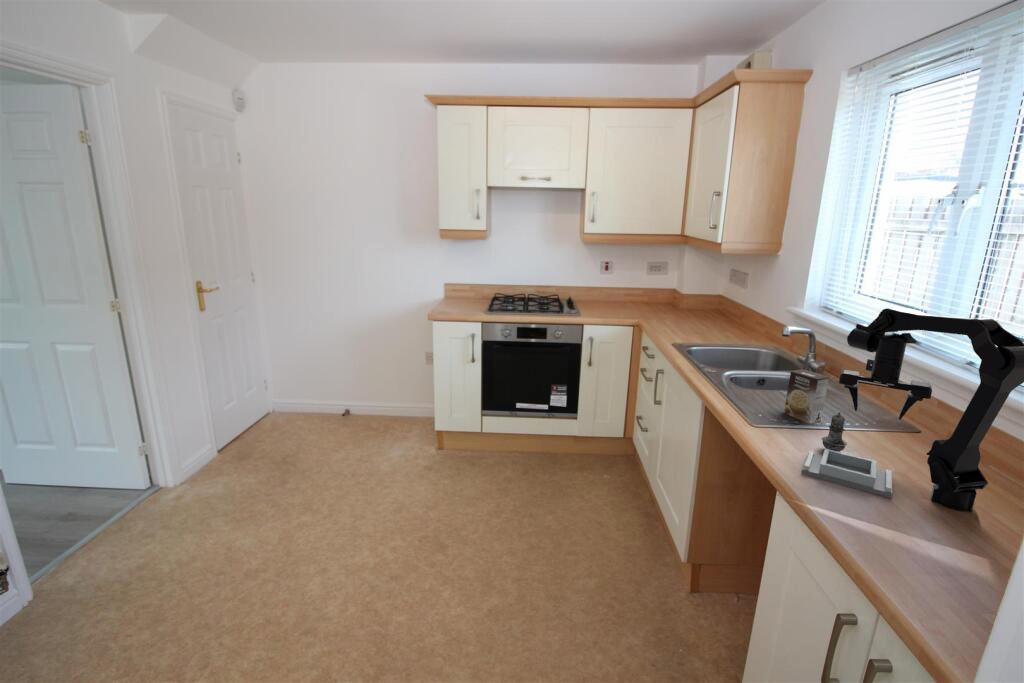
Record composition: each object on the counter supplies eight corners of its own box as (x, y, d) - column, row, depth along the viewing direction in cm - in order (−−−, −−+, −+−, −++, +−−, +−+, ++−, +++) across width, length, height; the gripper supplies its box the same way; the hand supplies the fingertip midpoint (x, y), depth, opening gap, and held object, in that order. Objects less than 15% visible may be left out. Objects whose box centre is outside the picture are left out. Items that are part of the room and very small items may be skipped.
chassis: (891, 478, 121) (894, 464, 120) (891, 498, 112) (894, 483, 111) (807, 456, 132) (810, 444, 131) (801, 473, 122) (803, 460, 121)
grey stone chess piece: (821, 446, 138) (829, 406, 135) (846, 453, 134) (854, 412, 132) (817, 453, 134) (824, 412, 131) (842, 460, 130) (850, 418, 127)
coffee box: (781, 417, 159) (789, 370, 155) (794, 415, 162) (801, 368, 158) (809, 428, 151) (817, 378, 147) (821, 425, 154) (830, 376, 150)
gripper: (934, 357, 124) (921, 414, 128) (847, 345, 135) (837, 398, 139) (938, 366, 116) (923, 427, 119) (844, 353, 127) (833, 409, 130)
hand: (877, 414), depth 127 cm, fingers open, 9 cm apart
